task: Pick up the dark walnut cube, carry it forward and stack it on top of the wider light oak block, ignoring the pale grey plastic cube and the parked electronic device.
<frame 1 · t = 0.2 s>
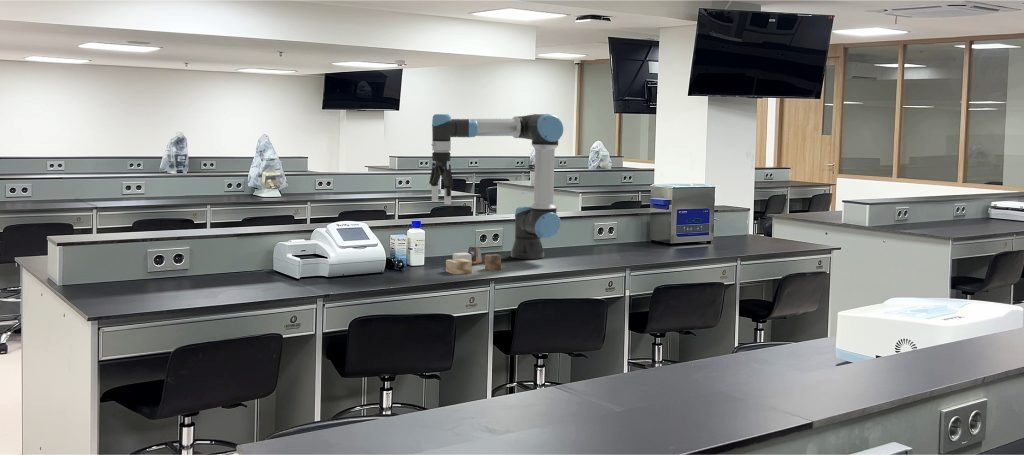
hand: (441, 202, 388), 27 cm above the lab bench, fingers open, 13 cm apart
grey cube: (462, 267, 393), on the lab bench
oak base: (458, 272, 382), on the lab bench
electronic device: (473, 264, 404), on the lab bench
walnut block: (492, 269, 390), on the lab bench
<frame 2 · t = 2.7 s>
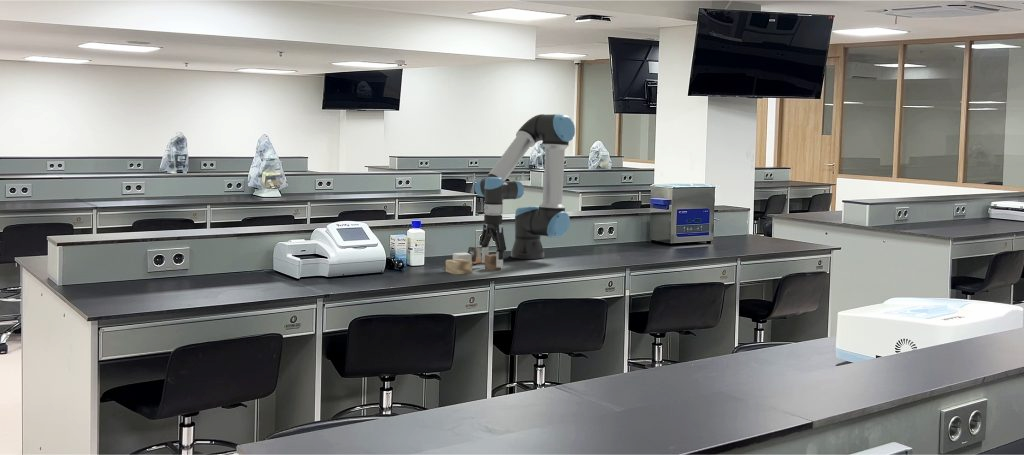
hand: (492, 265, 390), 2 cm above the lab bench, fingers open, 13 cm apart
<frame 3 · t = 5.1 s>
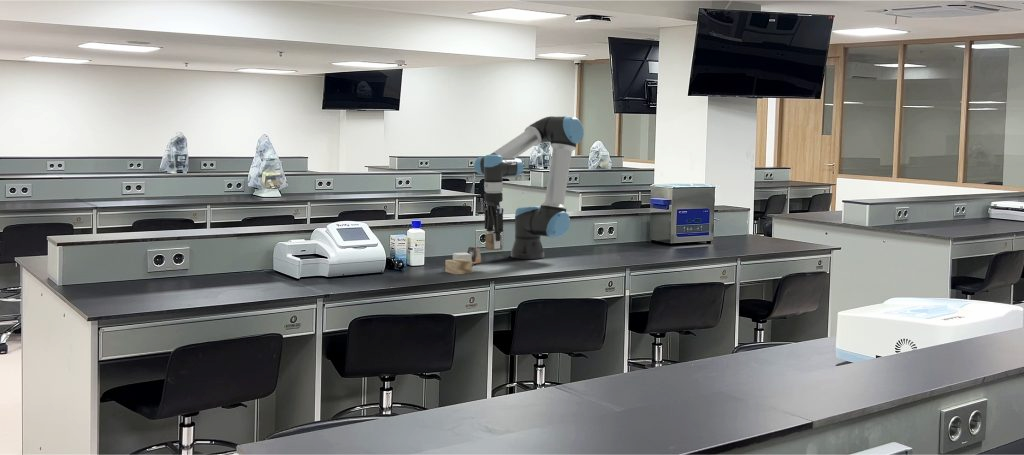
hand: (493, 247, 389), 9 cm above the lab bench, fingers closed on walnut block, 5 cm apart
walnut block: (493, 248, 389), point 9 cm above the lab bench, touching gripper
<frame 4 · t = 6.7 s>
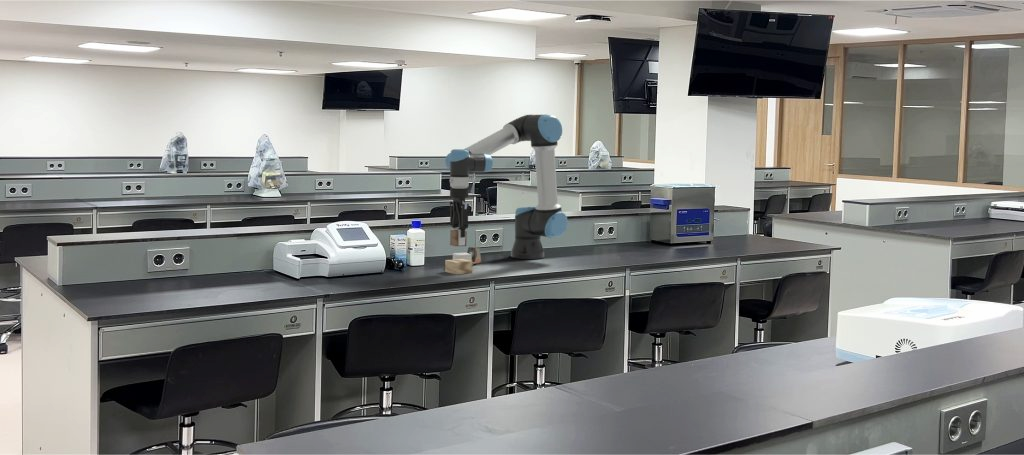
hand: (458, 244, 380), 11 cm above the lab bench, fingers closed on walnut block, 5 cm apart
walnut block: (458, 245, 380), point 11 cm above the lab bench, touching gripper
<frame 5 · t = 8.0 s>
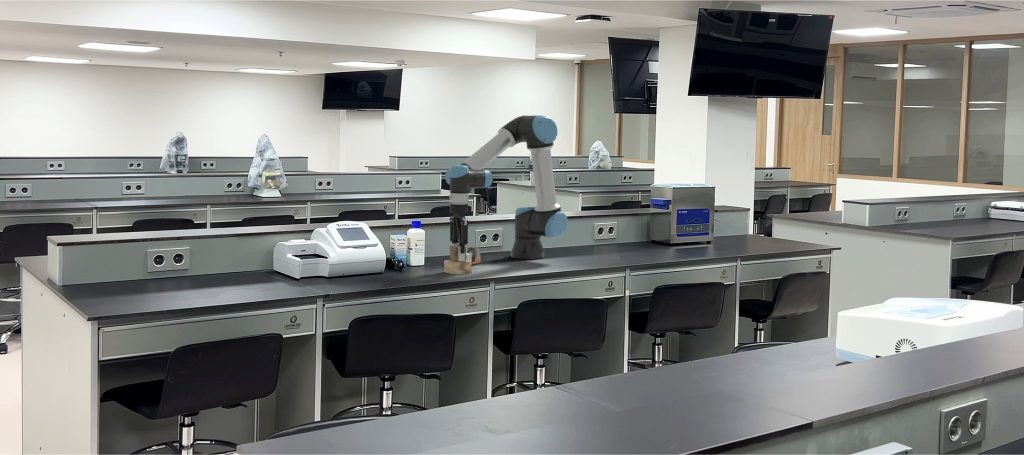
hand: (458, 260, 381), 5 cm above the lab bench, fingers closed on walnut block, 5 cm apart
oak base: (458, 273, 381), on the lab bench, touching gripper, walnut block
walnut block: (457, 260, 381), point 5 cm above the lab bench, touching gripper, oak base
when the fingers open (5 cm above the lab bench, at t = 8.4 s): walnut block stays where it is, resting on oak base.
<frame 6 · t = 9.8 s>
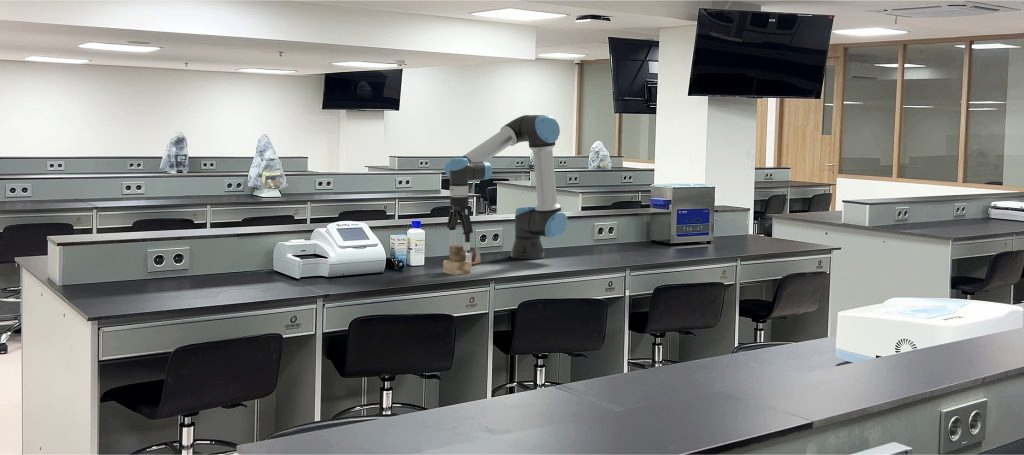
hand: (459, 248, 381), 10 cm above the lab bench, fingers open, 13 cm apart
oak base: (456, 273, 381), on the lab bench, touching walnut block
walnut block: (457, 260, 381), point 5 cm above the lab bench, touching oak base
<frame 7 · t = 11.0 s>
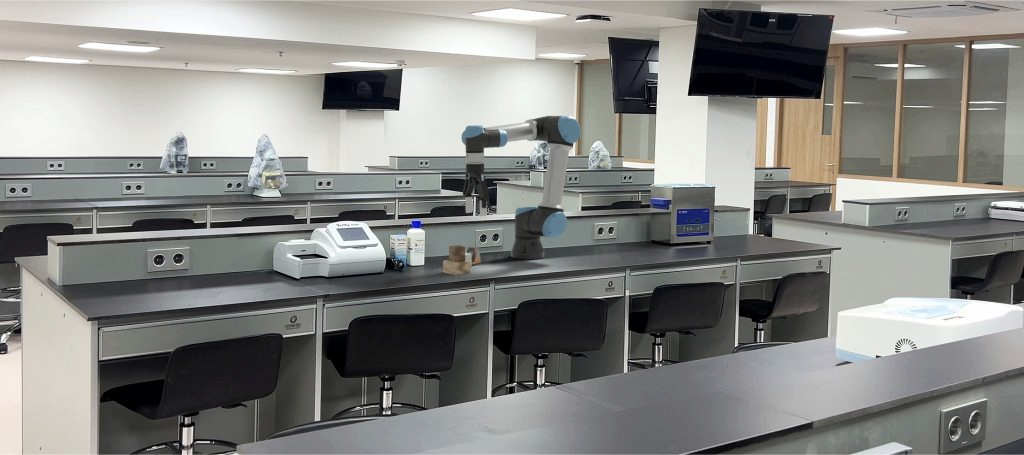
hand: (476, 214, 387), 23 cm above the lab bench, fingers open, 13 cm apart
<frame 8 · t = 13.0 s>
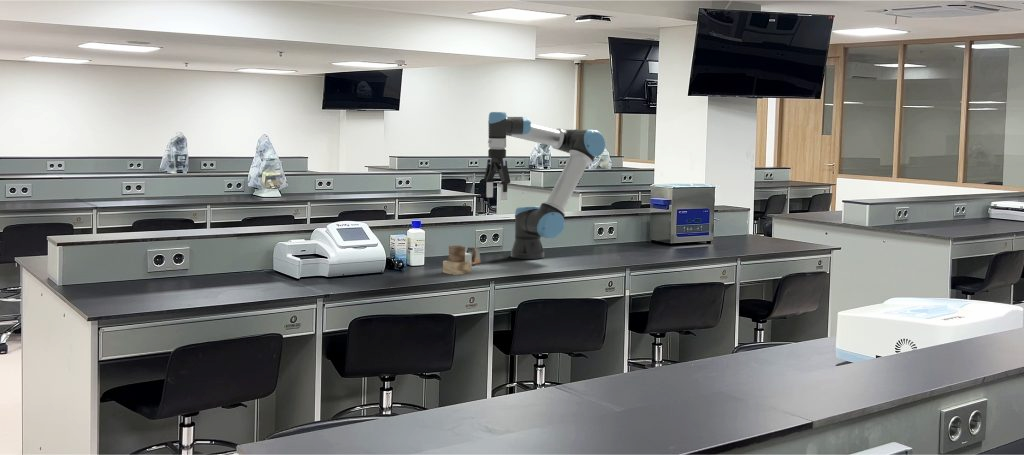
hand: (496, 198, 397), 29 cm above the lab bench, fingers open, 13 cm apart
at the end: walnut block inside the target area on the oak base (0.4 cm from its centre), point 5.0 cm above the oak base's base; walnut block tilted 1°; the gripper is holding nothing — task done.
